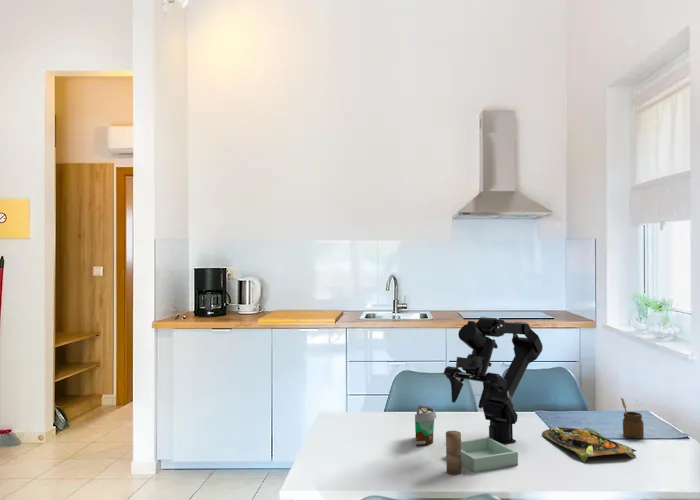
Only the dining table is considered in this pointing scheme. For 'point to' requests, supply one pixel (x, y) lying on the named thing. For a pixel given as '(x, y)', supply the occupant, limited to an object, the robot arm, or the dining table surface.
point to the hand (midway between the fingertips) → (466, 405)
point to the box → (486, 454)
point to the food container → (424, 425)
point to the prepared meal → (586, 442)
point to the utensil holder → (632, 423)
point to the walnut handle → (453, 453)
